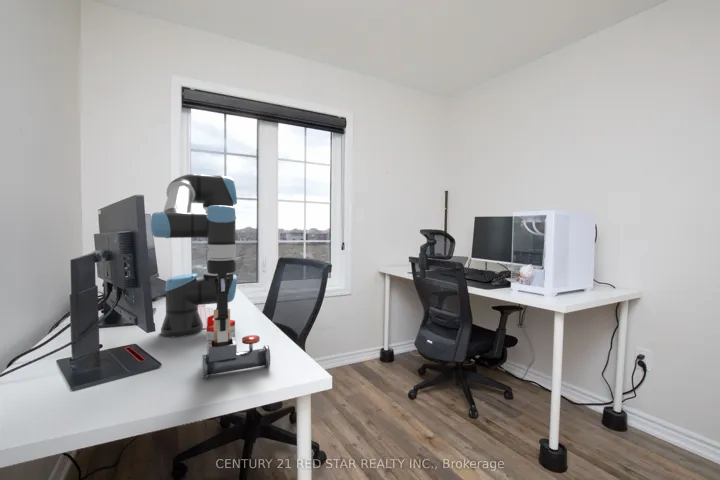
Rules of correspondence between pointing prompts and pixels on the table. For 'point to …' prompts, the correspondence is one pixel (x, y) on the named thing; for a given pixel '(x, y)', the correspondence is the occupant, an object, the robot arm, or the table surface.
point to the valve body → (234, 357)
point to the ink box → (211, 330)
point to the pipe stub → (216, 330)
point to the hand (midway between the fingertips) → (222, 338)
